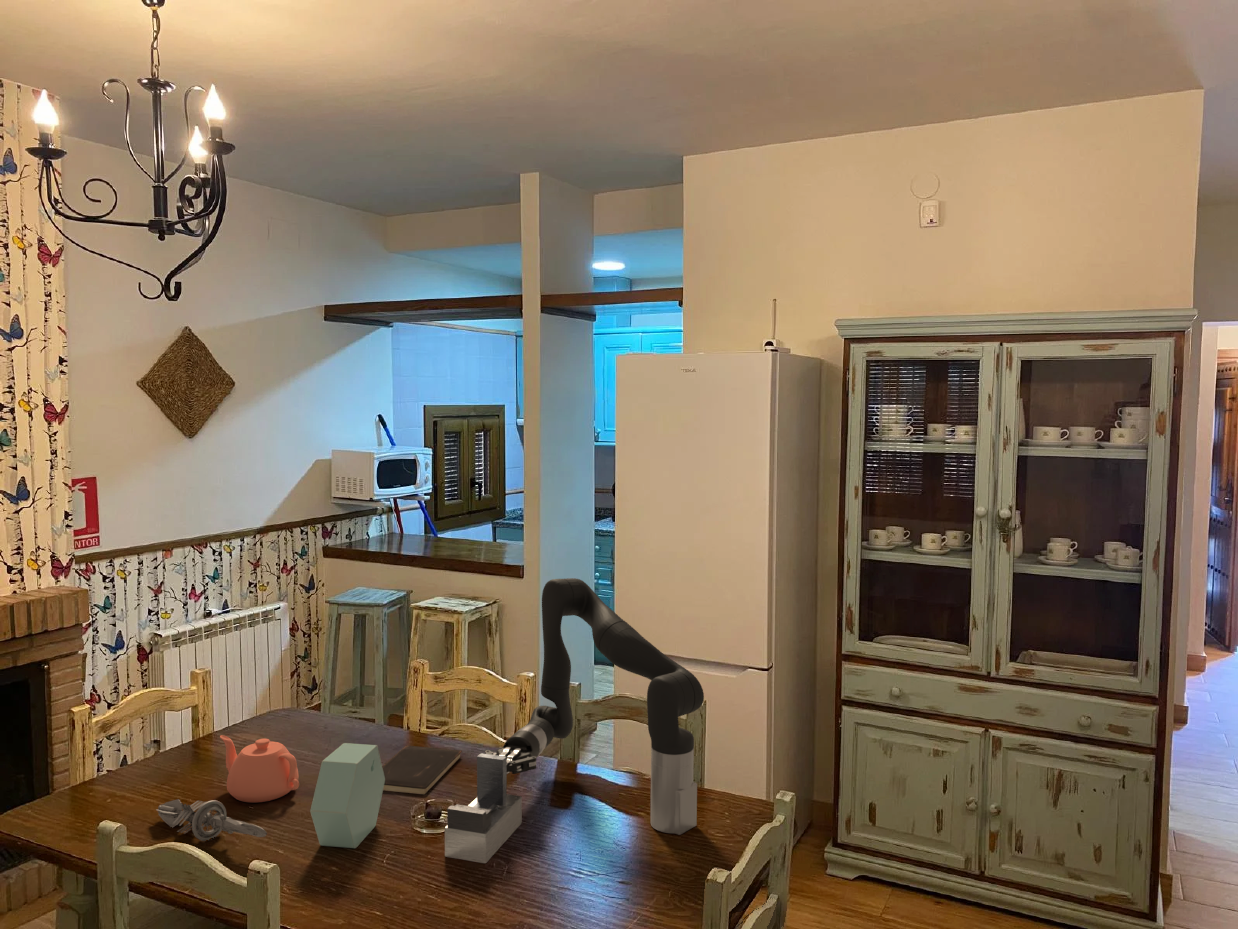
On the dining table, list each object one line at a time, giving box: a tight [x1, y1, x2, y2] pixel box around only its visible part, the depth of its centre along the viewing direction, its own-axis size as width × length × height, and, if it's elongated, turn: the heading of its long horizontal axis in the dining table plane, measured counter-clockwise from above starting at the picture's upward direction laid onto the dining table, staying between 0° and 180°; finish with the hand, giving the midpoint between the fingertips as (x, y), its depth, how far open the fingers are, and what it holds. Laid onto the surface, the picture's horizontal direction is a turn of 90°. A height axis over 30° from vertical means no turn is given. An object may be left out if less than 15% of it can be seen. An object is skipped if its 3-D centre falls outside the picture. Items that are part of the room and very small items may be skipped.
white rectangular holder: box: [444, 793, 523, 864], centre depth 187 cm, size 18×9×10 cm, turn 163°
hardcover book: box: [382, 745, 463, 795], centre depth 221 cm, size 16×23×2 cm
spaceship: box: [155, 798, 268, 842], centre depth 186 cm, size 8×35×8 cm
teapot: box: [219, 734, 300, 803], centre depth 209 cm, size 22×16×12 cm
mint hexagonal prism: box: [309, 742, 385, 849], centre depth 188 cm, size 17×8×21 cm
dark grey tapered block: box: [473, 753, 508, 811], centre depth 185 cm, size 11×6×10 cm, turn 163°
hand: (493, 775), depth 191 cm, fingers closed
